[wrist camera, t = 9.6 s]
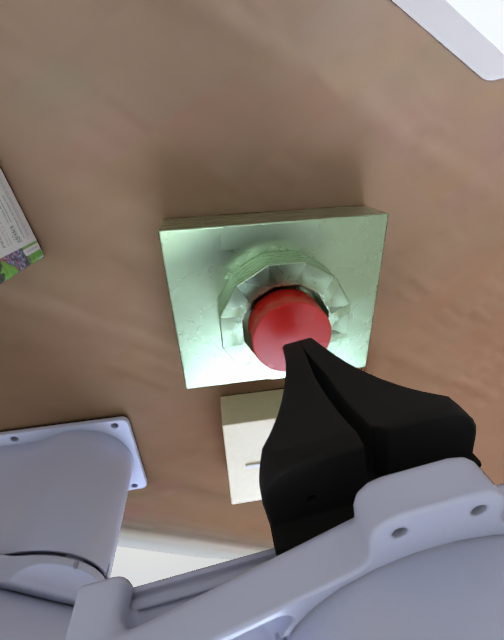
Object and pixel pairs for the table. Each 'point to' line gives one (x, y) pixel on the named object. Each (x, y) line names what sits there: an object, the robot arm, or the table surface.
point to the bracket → (465, 30)
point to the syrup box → (14, 235)
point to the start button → (285, 325)
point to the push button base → (268, 282)
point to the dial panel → (247, 439)
